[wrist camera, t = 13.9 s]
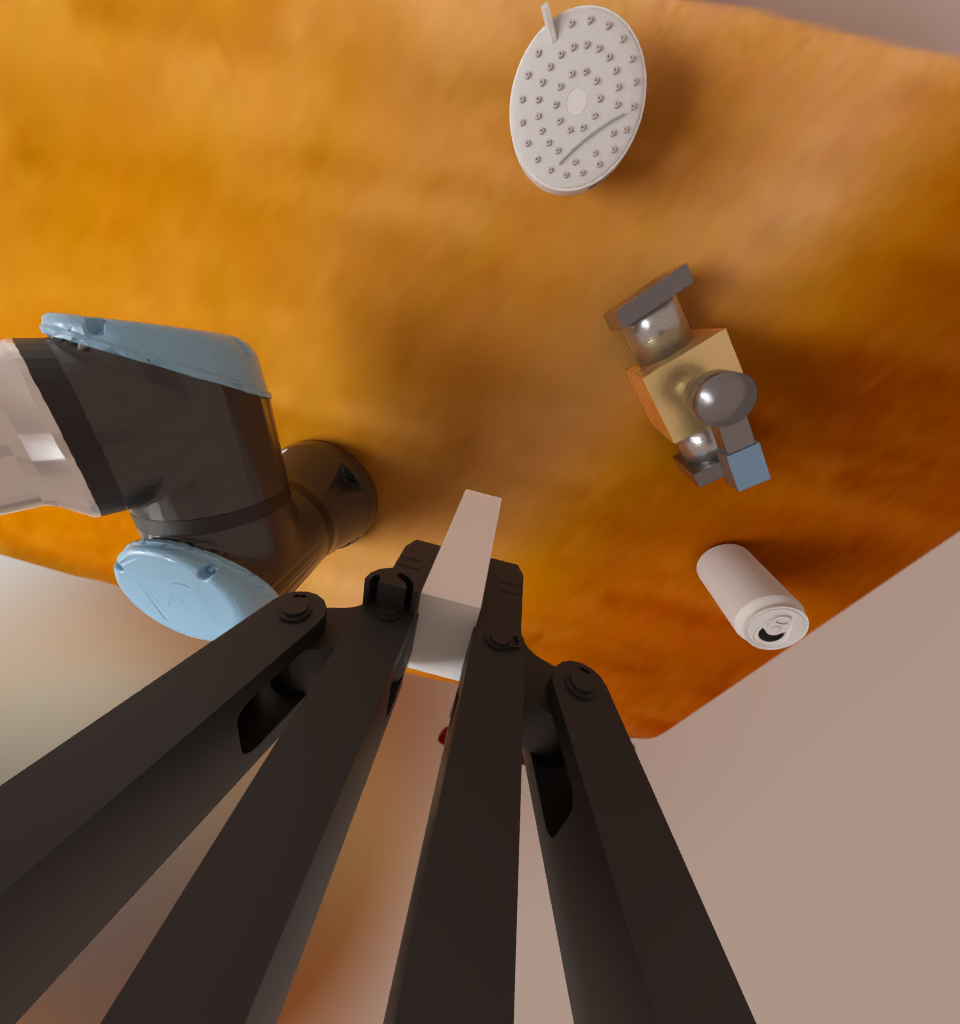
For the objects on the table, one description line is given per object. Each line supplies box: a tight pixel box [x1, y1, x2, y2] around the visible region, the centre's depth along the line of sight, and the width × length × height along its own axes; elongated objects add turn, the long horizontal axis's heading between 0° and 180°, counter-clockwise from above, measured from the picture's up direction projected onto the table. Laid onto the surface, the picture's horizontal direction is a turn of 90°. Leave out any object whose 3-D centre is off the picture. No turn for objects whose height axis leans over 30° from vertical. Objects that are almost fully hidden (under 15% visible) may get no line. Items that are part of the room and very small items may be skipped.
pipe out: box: [673, 426, 764, 488], centre depth 37 cm, size 6×6×6 cm
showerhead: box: [510, 2, 647, 196], centre depth 28 cm, size 9×7×10 cm
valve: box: [625, 328, 743, 444], centre depth 34 cm, size 7×7×10 cm
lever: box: [686, 369, 771, 492], centre depth 29 cm, size 10×4×2 cm, turn 32°
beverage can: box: [697, 544, 809, 650], centre depth 41 cm, size 6×6×12 cm
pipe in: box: [603, 263, 694, 368], centre depth 33 cm, size 6×6×6 cm
